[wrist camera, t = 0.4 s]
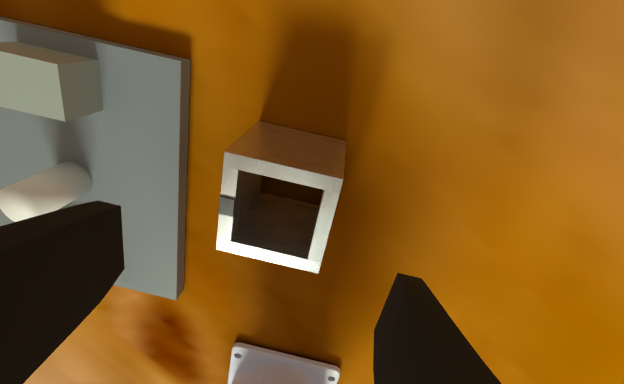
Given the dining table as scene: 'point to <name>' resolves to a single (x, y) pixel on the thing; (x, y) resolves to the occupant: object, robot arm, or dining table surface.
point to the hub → (275, 209)
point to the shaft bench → (98, 141)
